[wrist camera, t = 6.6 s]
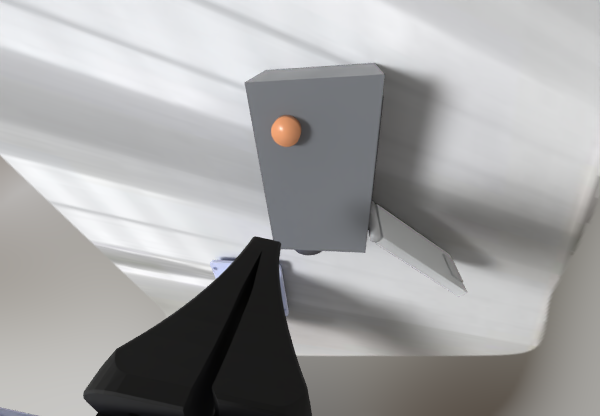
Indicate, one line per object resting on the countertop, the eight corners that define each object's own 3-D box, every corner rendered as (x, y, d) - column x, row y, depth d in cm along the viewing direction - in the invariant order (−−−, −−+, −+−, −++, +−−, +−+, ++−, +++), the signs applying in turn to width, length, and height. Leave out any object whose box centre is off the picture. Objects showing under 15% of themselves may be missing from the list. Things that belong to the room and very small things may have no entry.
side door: (361, 206, 22) (365, 239, 18) (371, 197, 21) (376, 230, 18) (440, 259, 24) (456, 297, 21) (450, 253, 23) (469, 292, 20)
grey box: (362, 226, 23) (366, 269, 19) (286, 224, 24) (275, 264, 20) (377, 62, 16) (390, 75, 11) (265, 70, 17) (240, 84, 13)
